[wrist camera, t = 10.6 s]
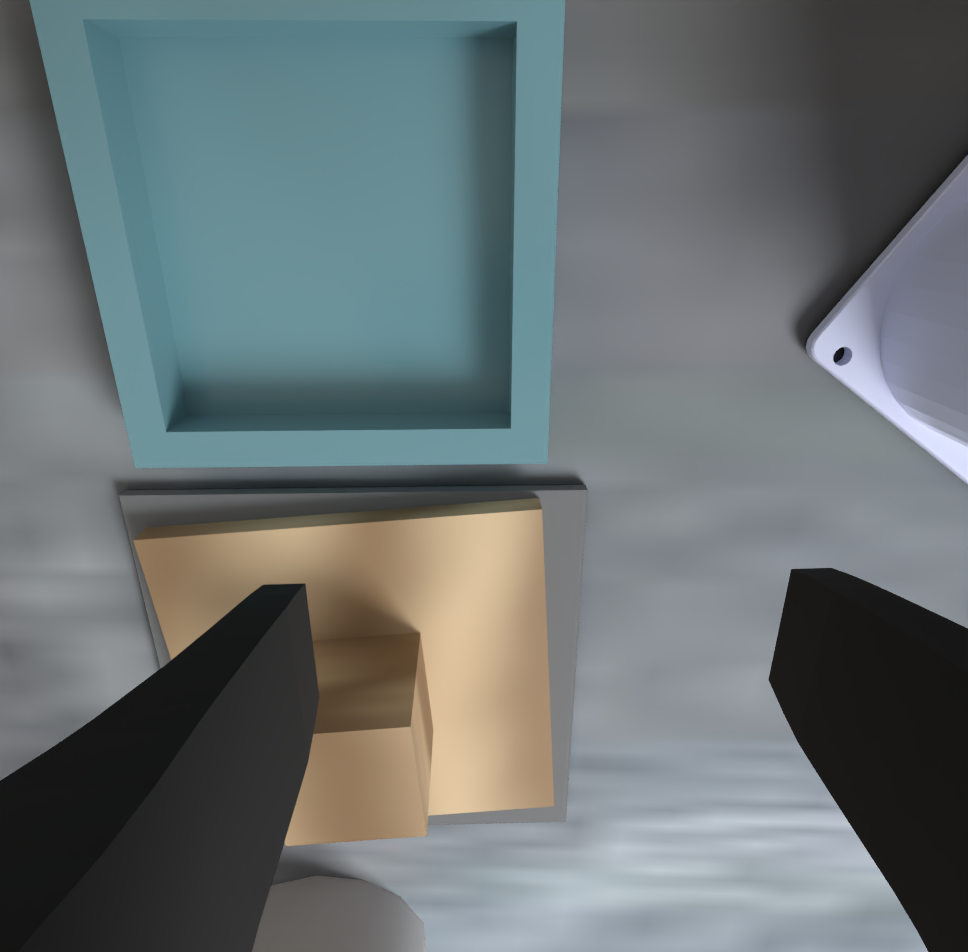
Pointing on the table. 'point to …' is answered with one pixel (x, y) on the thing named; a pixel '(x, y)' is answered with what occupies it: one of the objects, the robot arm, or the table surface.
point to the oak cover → (391, 653)
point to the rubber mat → (557, 502)
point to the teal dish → (317, 222)
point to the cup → (337, 918)
